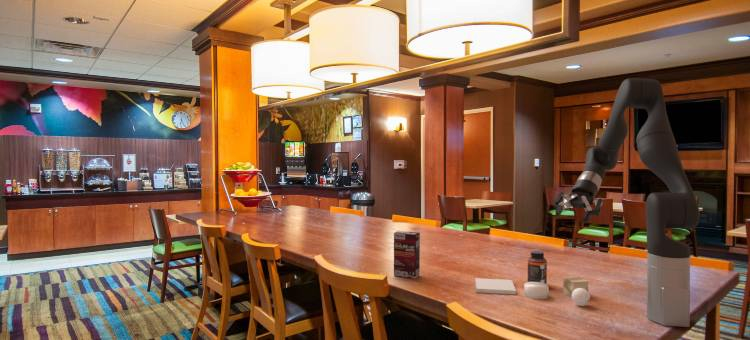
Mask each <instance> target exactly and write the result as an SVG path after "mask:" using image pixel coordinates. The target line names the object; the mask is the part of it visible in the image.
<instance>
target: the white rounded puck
mask: <svg viewBox="0 0 750 340" xmlns="http://www.w3.org/2000/svg"><path fill="white" fill-rule="evenodd" d="M523 284H524V289H523V291H524V293H523V295H524V297H526V298H529V299H532V300H547V299H549V297H550V296H549V291H550V290H549V285H548V284H545V283H541V282H528V281H526V282H524V283H523Z"/></svg>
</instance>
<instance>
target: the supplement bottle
mask: <svg viewBox="0 0 750 340" xmlns="http://www.w3.org/2000/svg"><path fill="white" fill-rule="evenodd" d="M544 254H545V252H543V251H540V250H531V251H530V257H528V259H527V282H541V283H545V284H547V278H548V277H547V276H548V273H547V271H548V270H547V269H548V268H547V267H548V264H547V263H548V260H547V259H546V258H545V255H544ZM547 285H548V284H547Z"/></svg>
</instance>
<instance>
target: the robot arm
mask: <svg viewBox="0 0 750 340" xmlns="http://www.w3.org/2000/svg"><path fill="white" fill-rule="evenodd" d="M628 108H630V109H642V110H645V111H646V112H647V116H648V117H647V119H646V121H645V123H644V124H643V125H642V126H641V128H640V129H639V132H638V134H637V136H636V141H635V143H636V148H637V151H638V155H639V159H640V160H641V162H642V164H644V166H645V167H646V169H648V170H649V171H651V172H652V173H653V174H654V175H656V176H657V177H658V178H659V179H660V180H661V181H662V182H664V185H666V187H667V188H668V189H669V192H651V193H650V194H649V195H647V198H646V201H645V221H646V222H645V225H646V226H645V227H646V244H647V249H646V250H647V257H646V260H647V261H646V318H648V320H650V321H652V322H654V323H657V324H659V325H661V326H664V327H665V326H669V327H670V326H671V327H683V328H690V327H691V326H690V322H691V319H690V318H691V317H690V315H691V313H690V312H691V280H690V279H691V248H690V247H691V246H690V245H689V244H687V243H685V242H682V241H679V240H676V239H673V238H672V237H670V236H668V235H667V232H666V229H677V230H678V229H679V230H680V229H681V230H682V229H683V230H686V229H688V230H689V229H693V228H696V227H697V226H698V224H699V222H700V216H701V215H700V208H699V204H698V201H697V198H696V195H695V193H694V190H693V188H692V186H691V184H690V182H689V181H690V180H688V177H687V175H686V173H685V170H684V166H683V164H682V160H681V156H680V153H679V149H678V145H677V143H676V139H675V136H674V133H673V131H672V127H671V125H670V121H669V120H670V119H669V117H668V114H667V108H666V102H665V96H664V90H663V86H662V85H661V82H660V81H659V80H657V79H653V78H640V77H639V78H638V77H631V78H630V77H629V78H628V77H627V78H626V79H624V80H623V81H622V82H621V84H620V86H619V88H618V90H617V93H616V96H615V99H614V101H613V105H612V108H611V112H610V116H609V119H608V122H607V123H606V124H607V125H606V127H605V128H604V131H603V133H602V134H601V137H600V138H599V141H598V146H597V145H595V146H592V147H590V148H589V149H588V150H587V152H586V155H585V167H584V168H583V170H582V173H581V174H580V175H579V177H578V178H577V180H576V181H575V184H574V186H573V187H572V189H571V191H570V192H569V193H568V194H565V193H564V192H563V191H560V192H559V193H558V195H557V196H556V198H555V200H553V204H554V208H555V213H554V214H555V216H556V218H560V217H561V214H562V213H563V210H565V209H570V208H575V209H576V208H578V209H581V210H583V209H584V210H585V213H584V215H583V217H582V220H583V221H582V222H583V223H584V224H586V223H588V222H589V221H590V220H591V217H592V216H596V217H598V216H599V215H600V214H601V212H602V211H601V210H602V208H603V204H604V203H603V198H597V199H595V198H596V196H597V195H598V192H599V191H600V188H601V185H602V182H603V180H604V178H605V176H606V173H607V172H608V171H612V170H613V169H615V167H616V166H617V165H618V160H619V152H620V149H621V147H622V145H623V143H624V142H625V140H626V138H627V136H628V132H629V129H628V123H627V122H626V118H625V111H626V109H628ZM593 204H594V205H595V207H594V208H592V207H591V206H592V205H593Z"/></svg>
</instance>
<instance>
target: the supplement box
mask: <svg viewBox="0 0 750 340" xmlns="http://www.w3.org/2000/svg"><path fill="white" fill-rule="evenodd" d="M420 233H421V232H419V231H418V232H417V231H405V230H404V231H403V230H397V231H395V232H393V276H394V277H399V276H402V278H407V277H411V278H410V279H414V278H415V279H417V278H418V277H419V276H420V268H421V267H420V262H421V261H420V256H421V255H420V253H421V252H420V251H421V249H420V248H421V245H420V244H421V241H420V240H421V234H420ZM416 277H417V278H416Z"/></svg>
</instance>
